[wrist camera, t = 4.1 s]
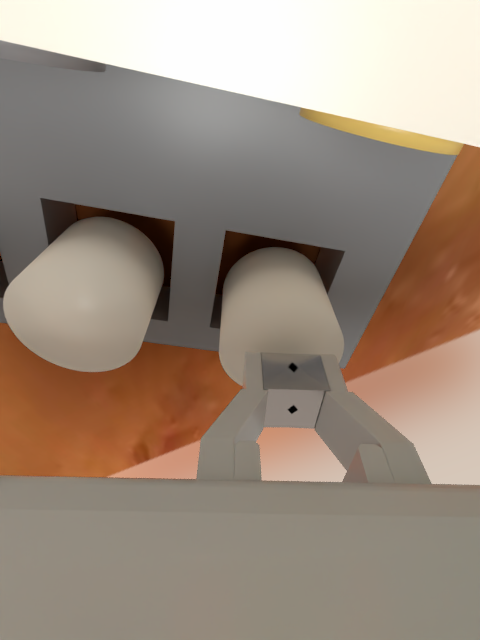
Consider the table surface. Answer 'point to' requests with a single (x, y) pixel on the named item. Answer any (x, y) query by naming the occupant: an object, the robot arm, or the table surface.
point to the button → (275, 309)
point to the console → (236, 133)
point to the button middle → (87, 296)
